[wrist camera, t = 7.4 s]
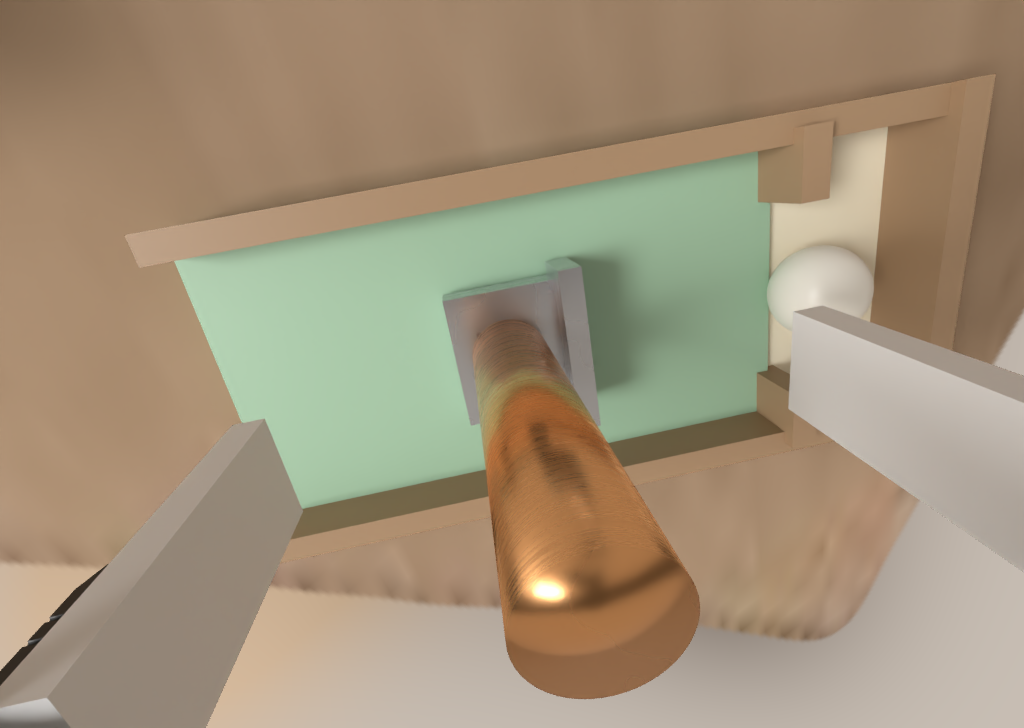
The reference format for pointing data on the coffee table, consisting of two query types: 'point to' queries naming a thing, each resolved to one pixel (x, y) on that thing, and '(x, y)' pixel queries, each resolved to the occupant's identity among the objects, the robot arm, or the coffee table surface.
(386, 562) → the coffee table surface
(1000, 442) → the robot arm
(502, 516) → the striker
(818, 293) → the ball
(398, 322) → the pitch
